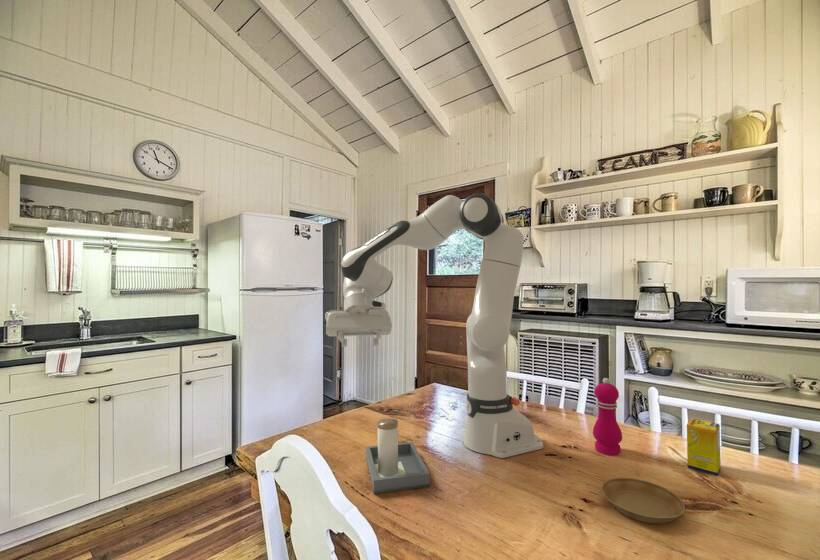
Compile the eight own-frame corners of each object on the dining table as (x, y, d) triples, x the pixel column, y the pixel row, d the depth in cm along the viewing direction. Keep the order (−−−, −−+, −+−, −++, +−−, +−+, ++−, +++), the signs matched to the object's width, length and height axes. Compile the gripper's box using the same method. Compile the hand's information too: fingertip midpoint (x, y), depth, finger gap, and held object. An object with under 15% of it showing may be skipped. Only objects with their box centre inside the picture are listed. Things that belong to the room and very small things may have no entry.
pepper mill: (626, 457, 100) (625, 381, 100) (597, 455, 101) (595, 380, 102) (617, 445, 107) (616, 375, 107) (590, 444, 108) (588, 374, 109)
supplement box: (691, 459, 98) (690, 417, 98) (721, 467, 94) (720, 423, 94) (686, 468, 94) (685, 424, 94) (717, 476, 90) (716, 430, 90)
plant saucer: (585, 498, 82) (585, 486, 82) (631, 482, 88) (631, 471, 88) (653, 540, 68) (653, 526, 68) (701, 518, 75) (701, 505, 75)
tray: (412, 452, 105) (412, 441, 105) (429, 486, 87) (429, 473, 87) (365, 457, 102) (365, 446, 102) (373, 494, 85) (373, 480, 85)
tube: (396, 464, 96) (396, 417, 96) (400, 474, 91) (399, 425, 91) (376, 467, 95) (375, 419, 95) (379, 477, 90) (378, 427, 90)
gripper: (324, 303, 118) (324, 339, 108) (389, 303, 122) (395, 337, 112) (324, 316, 122) (324, 352, 112) (387, 315, 126) (392, 350, 117)
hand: (360, 345), depth 112 cm, fingers open, 8 cm apart
